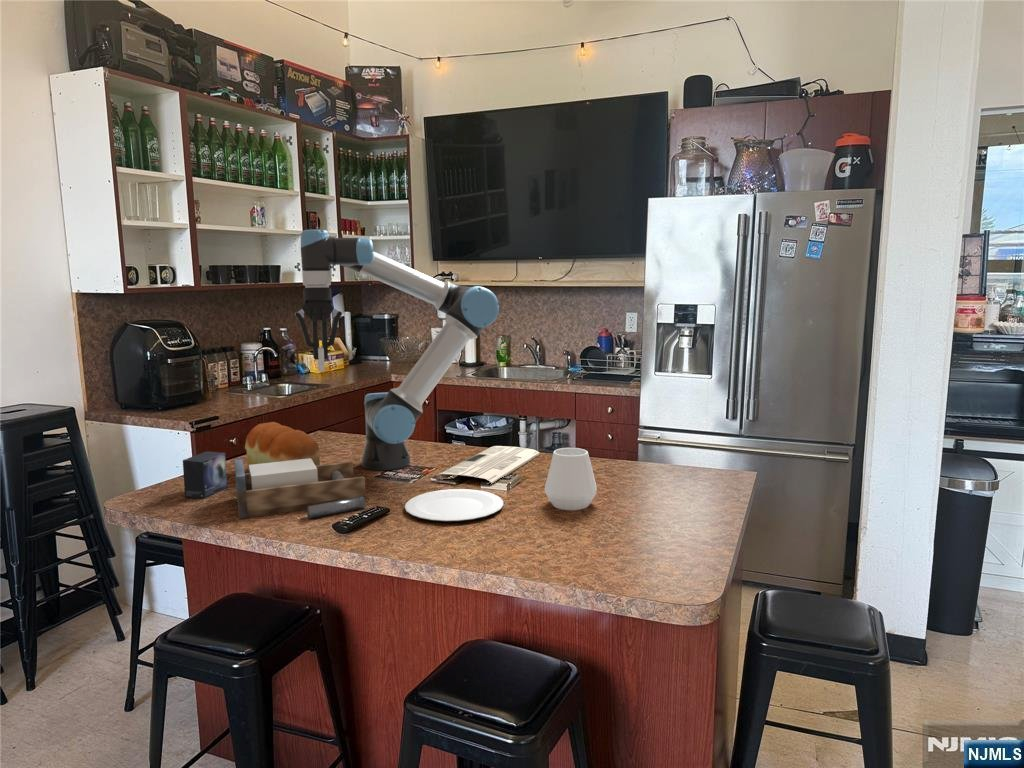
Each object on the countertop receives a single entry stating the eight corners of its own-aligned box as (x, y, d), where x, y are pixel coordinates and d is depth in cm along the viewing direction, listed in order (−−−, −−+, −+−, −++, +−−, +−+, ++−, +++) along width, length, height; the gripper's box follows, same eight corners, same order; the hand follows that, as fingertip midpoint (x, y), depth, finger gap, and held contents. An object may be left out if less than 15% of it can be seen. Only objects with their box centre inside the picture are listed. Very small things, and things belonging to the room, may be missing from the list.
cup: (601, 499, 181) (602, 447, 179) (590, 515, 169) (590, 459, 166) (552, 494, 185) (552, 443, 183) (538, 510, 173) (537, 456, 171)
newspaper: (491, 452, 234) (490, 444, 234) (544, 457, 227) (544, 449, 226) (436, 481, 201) (436, 471, 201) (497, 488, 193) (496, 478, 193)
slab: (312, 474, 190) (311, 458, 189) (318, 485, 179) (317, 468, 178) (249, 481, 183) (248, 464, 183) (252, 493, 173) (251, 476, 172)
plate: (386, 520, 168) (385, 513, 168) (432, 490, 191) (432, 484, 191) (480, 531, 159) (480, 524, 159) (517, 499, 183) (517, 493, 182)
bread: (322, 480, 202) (319, 430, 200) (281, 489, 194) (278, 437, 192) (285, 464, 221) (282, 419, 218) (246, 471, 212) (243, 424, 210)
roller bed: (353, 483, 198) (351, 447, 196) (365, 501, 181) (364, 462, 180) (237, 497, 186) (234, 460, 184) (239, 518, 169) (236, 477, 168)
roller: (361, 506, 178) (360, 494, 177) (365, 509, 175) (364, 497, 175) (306, 516, 170) (306, 504, 170) (310, 520, 167) (309, 508, 167)
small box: (205, 499, 185) (202, 461, 184) (183, 498, 186) (180, 460, 185) (228, 487, 195) (226, 451, 194) (208, 486, 197) (205, 450, 195)
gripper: (338, 286, 197) (342, 368, 201) (291, 287, 192) (296, 370, 196) (343, 286, 191) (347, 371, 194) (294, 287, 186) (299, 374, 189)
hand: (321, 370), depth 195 cm, fingers closed
